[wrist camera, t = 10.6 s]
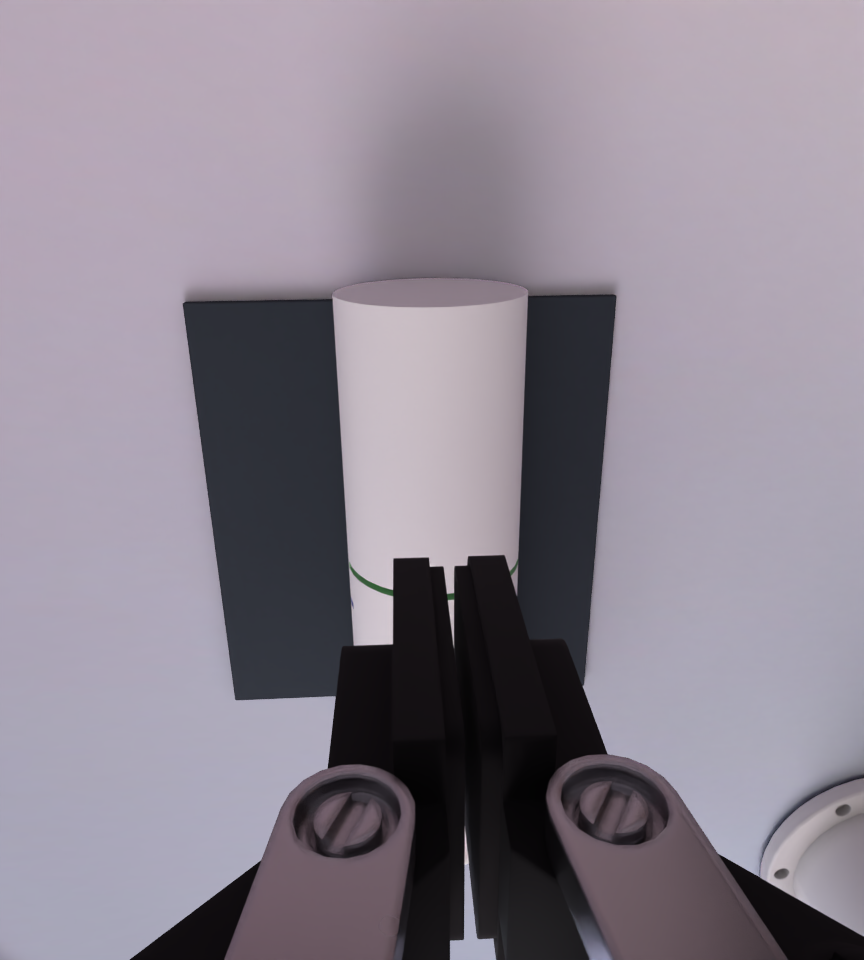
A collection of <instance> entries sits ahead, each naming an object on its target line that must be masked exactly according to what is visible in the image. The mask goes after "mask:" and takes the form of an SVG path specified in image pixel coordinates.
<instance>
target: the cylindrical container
mask: <svg viewBox="0 0 864 960" xmlns="http://www.w3.org/2000/svg"><path fill="white" fill-rule="evenodd" d="M332 297H333V314H334V330H335V346H336V363H337V379H338V396H339V412H340V428H341V445H342V461H343V478H344V494H345V510H346V527H347V543H348V560H349V576H350V592H351V609H352V625H353V642H354V646H357V645H386V644H393V558H421V557H429V563H430V567H436V566H443V567H444V574H445V582H446V590H447V598H448V606H449V614H450V622H451V629H452V637H453V645H454V567H455V566H467V561H468V556H487V555H505V558H506V561H507V564H508V568H509V571H510V574H511V578H512V581H513V585H514V588H515V592H516V595H517V583H518V551H519V524H520V497H521V470H522V443H523V415H524V388H525V361H526V334H527V307H528V290H527V289H526V288H524V287H522V286H519V285H515V284H511V283H505V282H499V281H490V280H479V279H460V278H415V279H396V280H384V281H374V282H366V283H360V284H355V285H350V286H346V287H342V288H339V289H337V290H335V291H334V292H333V293H332ZM468 863H469V860H468V850H467V841H466V832H465V858H464V865H466V864H468Z"/></svg>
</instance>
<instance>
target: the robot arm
mask: <svg viewBox="0 0 864 960" xmlns="http://www.w3.org/2000/svg"><path fill="white" fill-rule="evenodd" d="M465 832H466V841H467V850H468V860H469V869H470V878H471V887H472V897H473V906H474V915H475V924H476V933H477V938H478V939H490V938H494V946H495V954H496V960H864V778H862V779H857V780H853V781H850V782H847V783H844V784H841V785H838V786H835V787H833V788H831V789H829V790H827V791H825V792H823V793H821V794H819V795H817V796H815V797H814V798H812V799H811V800H809V801H808V802H806V803H805V804H803V805H802V806H800V807H799V808H798V809H797V810H796V811H794V812H793V813H792V814H791V815H790V816H789V817H788V818H787V819H786V820H785V821H784V822H783V823H782V824H781V826H780V827H779V828H778V829H777V831H776V832H775V833H774V834H773V836H772V838H771V840H770V842H769V844H768V845H767V847H766V849H765V852H764V855H763V859H762V862H761V873H760V877H758V876H756V875H754V874H753V873H751V872H749V871H747V870H746V869H744V868H742V867H740V866H739V865H737V864H735V863H733V862H732V861H730V860H728V859H726V858H725V857H723V856H721V855H719V854H718V853H717V852H716V850H715V849H714V847H713V846H712V844H711V843H710V841H709V840H708V838H707V837H706V835H705V834H704V832H703V831H702V829H701V828H700V826H699V825H698V823H697V822H696V820H695V819H694V817H693V816H692V814H691V813H690V811H689V810H688V808H687V806H686V805H685V803H684V802H683V800H682V799H681V797H680V796H679V794H678V793H677V791H676V790H675V789H674V788H673V787H672V786H671V785H670V784H669V782H668V781H667V780H666V779H665V778H664V777H663V776H661V775H660V774H658V773H657V772H655V771H654V770H653V769H651V768H650V767H648V766H646V765H644V764H642V763H639V762H637V761H634V760H632V759H629V758H625V757H620V756H614V755H609V754H607V751H606V749H605V746H604V743H603V741H602V738H601V735H600V732H599V730H598V727H597V724H596V722H595V719H594V716H593V713H592V711H591V708H590V705H589V703H588V700H587V697H586V695H585V692H584V689H583V686H582V684H581V681H580V678H579V676H578V673H577V670H576V668H575V665H574V662H573V659H572V657H571V654H570V651H569V649H568V646H567V644H566V642H565V640H564V639H562V638H557V639H529V636H528V633H527V629H526V626H525V622H524V619H523V615H522V612H521V609H520V605H519V602H518V598H517V595H516V592H515V588H514V585H513V581H512V578H511V574H510V571H509V568H508V564H507V561H506V558H505V555H487V556H468V561H467V566H455V567H454V645H453V637H452V629H451V622H450V614H449V606H448V598H447V590H446V582H445V574H444V567H443V566H436V567H430V563H429V557H421V558H393V644H386V645H357V646H343V647H342V650H341V657H340V666H339V675H338V683H337V692H336V701H335V710H334V719H333V727H332V736H331V745H330V754H329V763H328V769H325V770H322V771H320V772H318V773H316V774H314V775H312V776H310V777H308V778H307V779H305V780H303V781H302V782H301V783H300V784H299V785H298V786H297V787H296V788H295V789H294V790H292V791H291V792H290V793H289V795H288V797H287V799H286V800H285V802H284V804H283V806H282V807H281V809H280V812H279V815H278V817H277V820H276V823H275V825H274V828H273V831H272V833H271V836H270V839H269V841H268V844H267V847H266V849H265V852H264V855H263V857H262V860H261V861H260V862H258V863H257V864H256V865H254V866H253V867H252V868H250V869H249V870H248V871H246V872H245V873H244V874H243V875H241V876H240V877H239V878H237V879H236V880H235V881H233V882H232V883H231V884H229V885H228V886H227V887H225V888H224V889H223V890H221V891H220V892H219V893H217V894H216V895H215V896H213V897H212V898H211V899H209V900H208V901H207V902H205V903H204V904H203V905H201V906H200V907H199V908H197V909H196V910H195V911H194V912H192V913H191V914H190V915H188V916H187V917H186V918H184V919H183V920H182V921H180V922H179V923H178V924H176V925H175V926H174V927H172V928H171V929H170V930H168V931H167V932H166V933H164V934H163V935H162V936H160V937H159V938H158V939H156V940H155V941H154V942H152V943H151V944H150V945H148V946H147V947H146V948H145V949H143V950H142V951H141V952H139V953H138V954H137V955H135V956H134V957H133V958H131V959H130V960H450V940H463V939H464V858H465Z"/></svg>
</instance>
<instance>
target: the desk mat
mask: <svg viewBox="0 0 864 960" xmlns="http://www.w3.org/2000/svg"><path fill="white" fill-rule="evenodd" d="M615 307H616V296H615V295H556V296H528V307H527V334H526V361H525V388H524V415H523V443H522V470H521V497H520V524H519V551H518V583H517V598H518V602H519V605H520V609H521V612H522V615H523V619H524V622H525V626H526V629H527V633H528V636H529V639H557V638H562V639H564V640H565V642H566V644H567V646H568V649H569V651H570V654H571V657H572V659H573V662H574V665H575V668H576V670H577V673H578V676H579V678H580V681H581V684H582V686H583V685H584V677H585V665H586V654H587V642H588V630H589V618H590V606H591V594H592V582H593V570H594V558H595V546H596V534H597V522H598V510H599V498H600V486H601V474H602V462H603V450H604V439H605V427H606V415H607V403H608V391H609V379H610V367H611V355H612V343H613V331H614V319H615ZM183 308H184V316H185V324H186V331H187V339H188V346H189V354H190V361H191V369H192V376H193V384H194V391H195V399H196V407H197V414H198V422H199V429H200V437H201V444H202V452H203V459H204V467H205V474H206V482H207V489H208V497H209V505H210V512H211V520H212V527H213V535H214V542H215V550H216V557H217V565H218V572H219V580H220V588H221V595H222V603H223V610H224V618H225V625H226V633H227V640H228V648H229V655H230V663H231V671H232V678H233V686H234V693H235V700H253V699H277V698H300V697H324V696H336V692H337V683H338V675H339V666H340V657H341V650H342V647H343V646H354V642H353V625H352V609H351V592H350V576H349V560H348V543H347V527H346V510H345V494H344V478H343V461H342V445H341V428H340V412H339V396H338V379H337V363H336V346H335V330H334V314H333V299H322V300H263V301H205V302H185V303H183Z"/></svg>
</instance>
